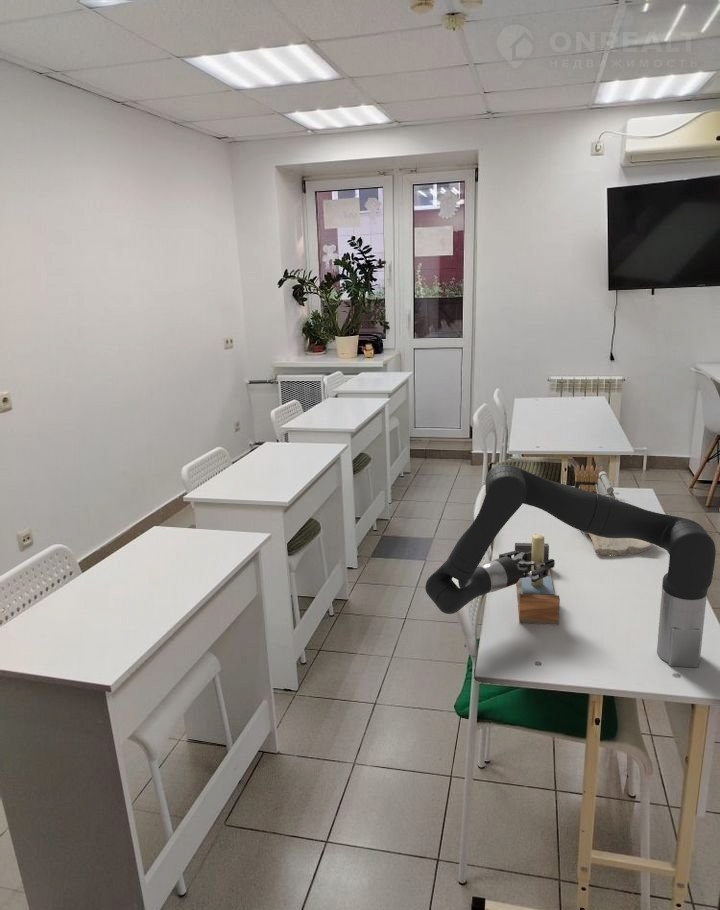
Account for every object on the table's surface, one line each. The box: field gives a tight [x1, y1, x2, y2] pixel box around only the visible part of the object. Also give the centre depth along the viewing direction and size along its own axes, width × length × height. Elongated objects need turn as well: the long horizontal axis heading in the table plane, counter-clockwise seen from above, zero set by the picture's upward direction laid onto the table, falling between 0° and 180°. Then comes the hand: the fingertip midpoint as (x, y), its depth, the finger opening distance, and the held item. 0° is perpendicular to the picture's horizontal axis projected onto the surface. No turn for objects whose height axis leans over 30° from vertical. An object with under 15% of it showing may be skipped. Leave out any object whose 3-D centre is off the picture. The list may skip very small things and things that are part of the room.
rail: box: [514, 542, 561, 626], centre depth 183 cm, size 34×10×8 cm, turn 169°
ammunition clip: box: [574, 464, 604, 493], centre depth 255 cm, size 11×2×12 cm, turn 69°
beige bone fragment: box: [587, 533, 652, 557], centre depth 213 cm, size 24×8×20 cm
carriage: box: [521, 534, 555, 595], centre depth 173 cm, size 10×8×18 cm
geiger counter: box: [596, 470, 616, 499], centre depth 235 cm, size 14×6×25 cm
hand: (544, 558), depth 174 cm, fingers open, 6 cm apart
